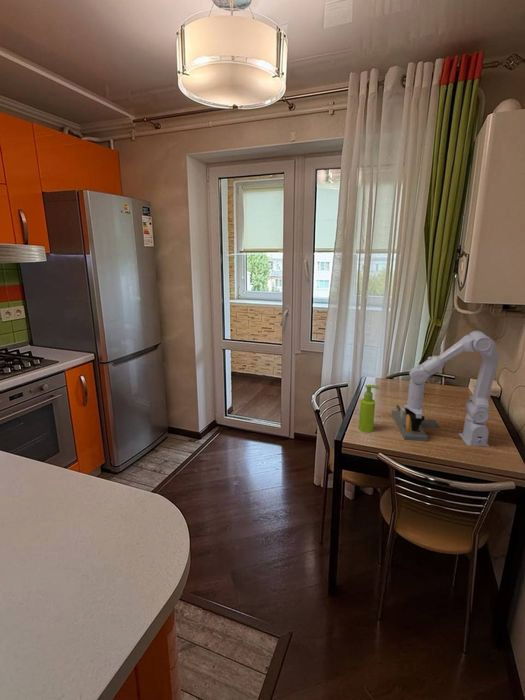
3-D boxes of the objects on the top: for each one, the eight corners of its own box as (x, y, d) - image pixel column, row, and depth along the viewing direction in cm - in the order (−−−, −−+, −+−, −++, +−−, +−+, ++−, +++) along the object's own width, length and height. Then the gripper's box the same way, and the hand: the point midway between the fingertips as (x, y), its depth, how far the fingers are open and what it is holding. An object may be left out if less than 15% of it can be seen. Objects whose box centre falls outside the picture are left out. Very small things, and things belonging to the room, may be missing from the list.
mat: (440, 428, 158) (441, 428, 158) (421, 427, 159) (421, 427, 159) (434, 420, 166) (434, 419, 166) (416, 419, 167) (416, 418, 166)
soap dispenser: (375, 433, 154) (379, 388, 149) (358, 431, 156) (362, 387, 150) (374, 426, 160) (378, 383, 154) (358, 425, 161) (361, 382, 156)
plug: (417, 434, 152) (419, 416, 150) (407, 433, 153) (409, 416, 151) (414, 429, 156) (416, 412, 154) (405, 429, 157) (407, 412, 155)
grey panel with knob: (427, 441, 148) (429, 426, 146) (404, 440, 149) (406, 424, 147) (407, 408, 178) (408, 394, 176) (387, 407, 179) (389, 393, 177)
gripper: (401, 389, 158) (398, 418, 161) (410, 403, 144) (406, 434, 147) (418, 389, 157) (414, 419, 161) (428, 403, 143) (424, 435, 147)
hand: (412, 426), depth 154 cm, fingers open, 7 cm apart
